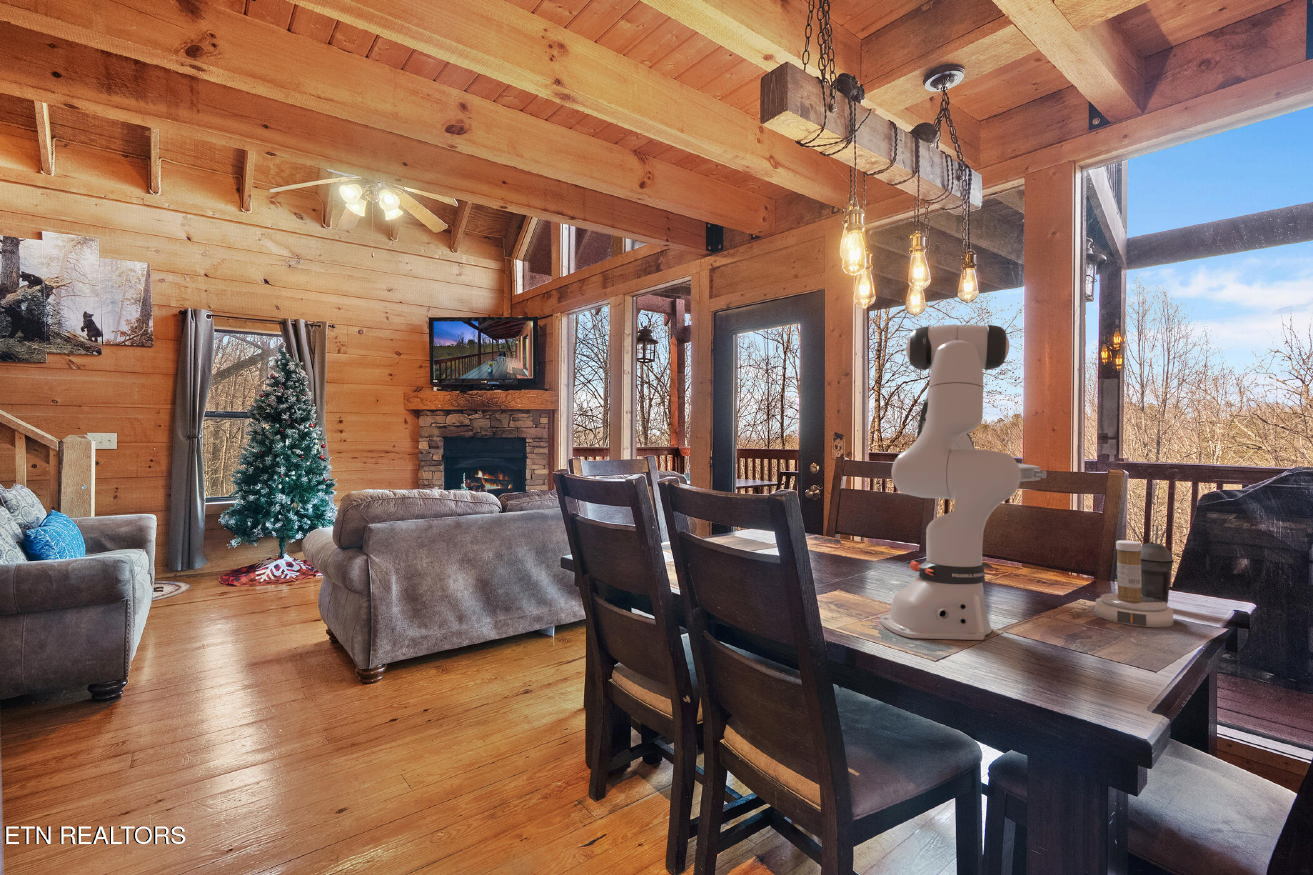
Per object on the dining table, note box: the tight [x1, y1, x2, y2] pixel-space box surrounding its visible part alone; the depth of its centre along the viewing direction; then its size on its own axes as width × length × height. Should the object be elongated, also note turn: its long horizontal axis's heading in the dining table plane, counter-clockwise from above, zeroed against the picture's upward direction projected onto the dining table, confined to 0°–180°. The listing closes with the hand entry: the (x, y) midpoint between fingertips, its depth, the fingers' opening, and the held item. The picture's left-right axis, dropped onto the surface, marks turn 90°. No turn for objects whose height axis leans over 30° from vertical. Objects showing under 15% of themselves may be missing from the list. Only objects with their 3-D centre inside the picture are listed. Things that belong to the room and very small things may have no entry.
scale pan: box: [1100, 592, 1168, 612], centre depth 140 cm, size 12×12×1 cm
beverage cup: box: [1140, 524, 1175, 604], centre depth 149 cm, size 7×7×20 cm
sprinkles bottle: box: [1115, 539, 1142, 602], centre depth 139 cm, size 5×5×14 cm
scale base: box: [1095, 597, 1174, 628], centre depth 140 cm, size 14×14×3 cm
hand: (1031, 475), depth 156 cm, fingers open, 8 cm apart
